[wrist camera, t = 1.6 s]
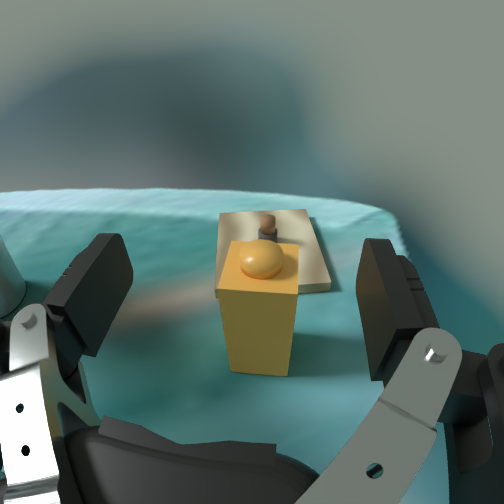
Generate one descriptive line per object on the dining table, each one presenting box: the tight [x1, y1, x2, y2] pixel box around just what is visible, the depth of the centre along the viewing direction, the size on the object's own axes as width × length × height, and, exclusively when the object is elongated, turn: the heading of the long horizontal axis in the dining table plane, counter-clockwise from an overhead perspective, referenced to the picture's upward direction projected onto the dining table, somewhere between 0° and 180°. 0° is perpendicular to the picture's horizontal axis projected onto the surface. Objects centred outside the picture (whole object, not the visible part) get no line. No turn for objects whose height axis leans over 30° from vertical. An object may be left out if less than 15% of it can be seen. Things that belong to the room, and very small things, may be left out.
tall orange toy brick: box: [217, 239, 299, 376], centre depth 27 cm, size 6×6×13 cm
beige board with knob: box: [215, 209, 331, 298], centre depth 42 cm, size 14×17×6 cm
